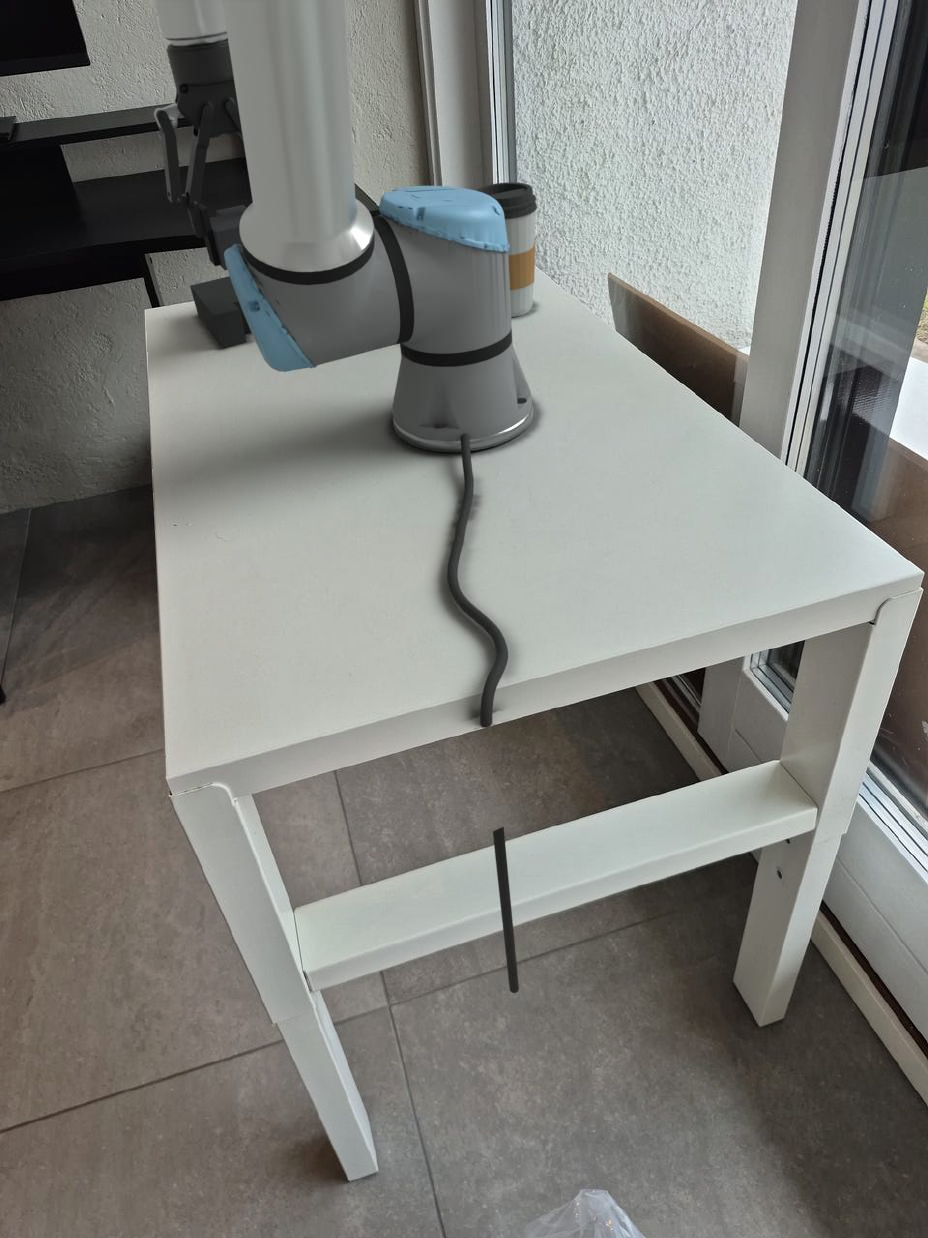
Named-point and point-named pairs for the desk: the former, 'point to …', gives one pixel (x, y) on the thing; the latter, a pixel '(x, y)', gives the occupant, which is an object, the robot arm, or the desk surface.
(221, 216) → the pad
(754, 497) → the desk surface
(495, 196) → the coffee cup
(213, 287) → the notched pad
